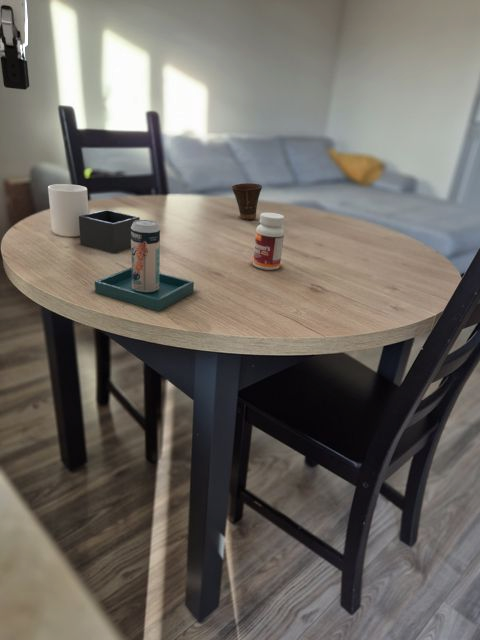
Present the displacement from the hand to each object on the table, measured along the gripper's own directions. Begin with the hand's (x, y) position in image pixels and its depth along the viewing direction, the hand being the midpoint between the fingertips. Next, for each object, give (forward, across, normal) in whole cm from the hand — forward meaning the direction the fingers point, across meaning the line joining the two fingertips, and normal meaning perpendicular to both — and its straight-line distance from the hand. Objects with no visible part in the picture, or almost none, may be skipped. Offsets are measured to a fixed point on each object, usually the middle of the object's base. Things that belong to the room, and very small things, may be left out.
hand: (17, 87), depth 78 cm
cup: (+31, -42, +57) cm, 77 cm away
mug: (+31, -26, +6) cm, 41 cm away
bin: (+30, -15, +15) cm, 37 cm away
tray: (+30, +14, +18) cm, 38 cm away
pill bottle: (+31, +1, +47) cm, 56 cm away
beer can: (+30, +14, +18) cm, 38 cm away
